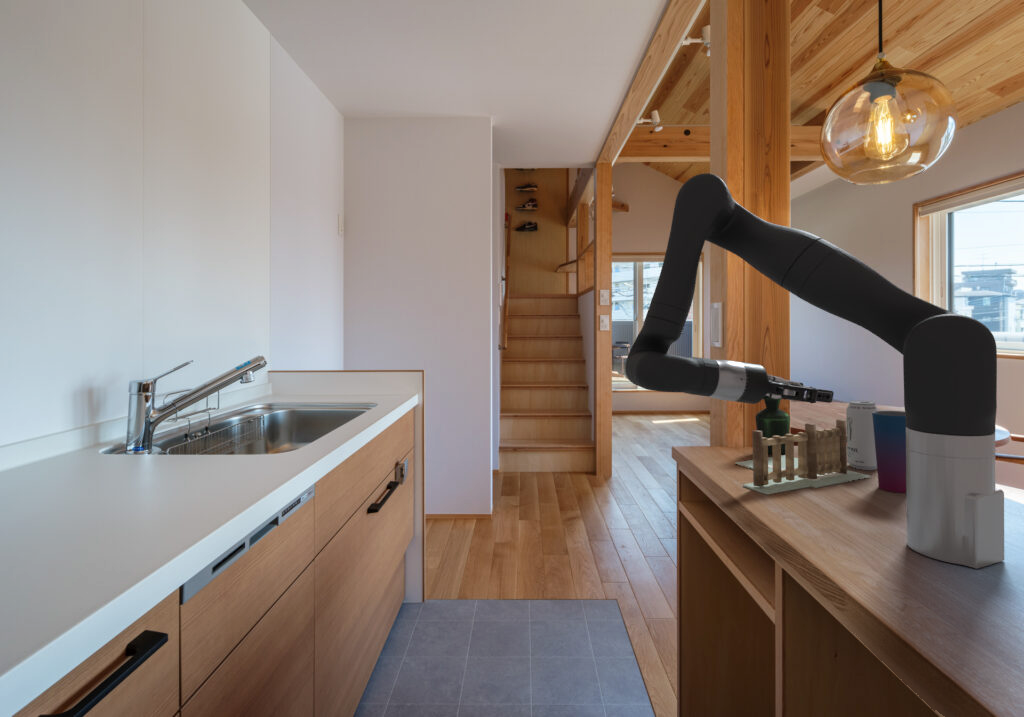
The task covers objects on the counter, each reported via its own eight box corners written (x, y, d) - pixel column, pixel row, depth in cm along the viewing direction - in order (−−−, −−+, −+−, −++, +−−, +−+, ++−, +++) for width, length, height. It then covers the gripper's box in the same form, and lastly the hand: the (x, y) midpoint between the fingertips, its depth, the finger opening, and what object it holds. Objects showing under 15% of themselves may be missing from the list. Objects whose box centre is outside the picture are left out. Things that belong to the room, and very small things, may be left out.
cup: (925, 494, 91) (925, 415, 90) (884, 494, 92) (883, 415, 91) (904, 484, 97) (903, 410, 97) (866, 483, 99) (865, 410, 98)
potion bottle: (749, 450, 130) (747, 384, 129) (777, 448, 131) (776, 382, 130) (768, 457, 122) (766, 386, 121) (798, 455, 122) (797, 385, 122)
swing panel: (802, 475, 102) (801, 424, 102) (810, 477, 101) (809, 425, 100) (751, 484, 98) (750, 430, 98) (758, 487, 96) (757, 432, 96)
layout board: (870, 477, 102) (870, 475, 102) (771, 496, 93) (771, 493, 93) (785, 456, 122) (785, 454, 122) (696, 470, 113) (696, 468, 113)
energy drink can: (843, 463, 114) (842, 400, 113) (874, 464, 112) (873, 400, 111) (852, 470, 108) (851, 403, 108) (884, 471, 106) (883, 403, 106)
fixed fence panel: (849, 475, 104) (848, 420, 104) (812, 482, 101) (811, 425, 100) (840, 473, 106) (839, 419, 106) (803, 479, 103) (802, 423, 102)
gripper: (758, 366, 83) (847, 379, 84) (719, 357, 97) (796, 367, 98) (749, 409, 84) (838, 420, 85) (712, 393, 98) (788, 403, 99)
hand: (815, 392), depth 91 cm, fingers open, 8 cm apart
